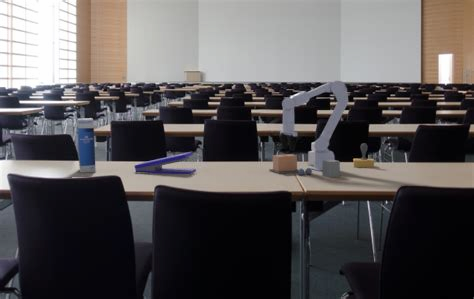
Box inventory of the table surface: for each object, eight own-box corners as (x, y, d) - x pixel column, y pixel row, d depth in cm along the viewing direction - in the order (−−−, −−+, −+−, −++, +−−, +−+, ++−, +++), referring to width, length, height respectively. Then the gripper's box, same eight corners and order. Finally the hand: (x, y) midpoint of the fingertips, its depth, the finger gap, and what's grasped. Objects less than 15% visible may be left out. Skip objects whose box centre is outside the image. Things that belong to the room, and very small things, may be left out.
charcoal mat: (291, 169, 262) (291, 167, 262) (301, 172, 253) (301, 170, 253) (269, 170, 257) (269, 169, 257) (278, 174, 248) (278, 172, 248)
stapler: (189, 175, 250) (189, 154, 249) (133, 173, 256) (133, 153, 255) (196, 171, 261) (196, 151, 260) (143, 169, 267) (142, 150, 266)
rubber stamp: (373, 166, 270) (373, 142, 269) (373, 167, 265) (374, 143, 263) (353, 165, 272) (353, 142, 271) (353, 167, 267) (354, 143, 265)
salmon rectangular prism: (291, 168, 259) (291, 154, 259) (296, 170, 254) (297, 155, 253) (273, 169, 256) (273, 155, 255) (278, 171, 250) (278, 156, 250)
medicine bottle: (314, 163, 280) (314, 140, 279) (326, 164, 276) (326, 141, 275) (307, 165, 275) (308, 142, 273) (320, 166, 271) (320, 142, 269)
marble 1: (302, 174, 247) (302, 168, 246) (305, 175, 244) (305, 168, 244) (296, 174, 246) (296, 168, 245) (299, 175, 243) (299, 169, 242)
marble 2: (309, 173, 248) (309, 167, 248) (313, 174, 245) (313, 168, 245) (304, 174, 247) (304, 167, 247) (307, 175, 244) (307, 168, 244)
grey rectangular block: (332, 174, 245) (333, 159, 244) (339, 176, 240) (339, 161, 239) (322, 175, 243) (322, 160, 242) (328, 177, 238) (329, 161, 237)
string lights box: (96, 172, 258) (93, 119, 255) (79, 173, 256) (77, 119, 253) (94, 168, 271) (92, 117, 268) (79, 169, 269) (76, 118, 266)
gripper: (274, 121, 267) (274, 148, 269) (288, 123, 254) (288, 151, 255) (287, 121, 270) (287, 147, 271) (301, 123, 256) (301, 150, 258)
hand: (288, 149), depth 263 cm, fingers open, 7 cm apart
